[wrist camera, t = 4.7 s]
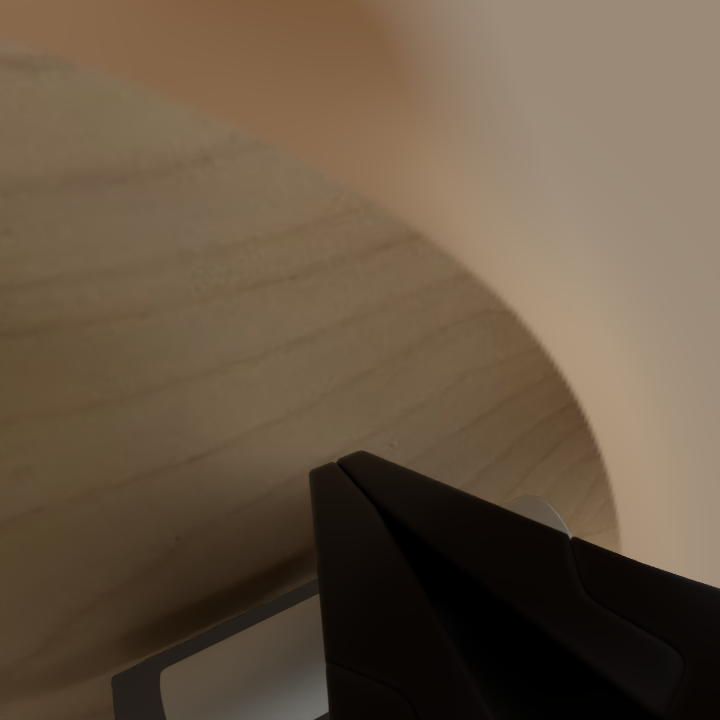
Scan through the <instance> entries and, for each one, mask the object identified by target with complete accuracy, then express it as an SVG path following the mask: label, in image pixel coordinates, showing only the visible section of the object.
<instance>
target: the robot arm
mask: <svg viewBox="0 0 720 720" xmlns="http://www.w3.org/2000/svg"><path fill="white" fill-rule="evenodd" d="M309 483H310V494H311V506H312V517H313V529H314V540H315V552H316V563H317V575H318V586H319V598H320V610H321V621H322V633H323V644H324V656H325V664H326V668H325V672H326V683H327V694H328V711H329V720H720V589H719V588H716V587H713V586H709V585H707V584H704V583H700V582H697V581H694V580H691V579H688V578H685V577H682V576H679V575H676V574H673V573H670V572H667V571H664V570H661V569H658V568H655V567H652V566H649V565H646V564H643V563H641V562H638V561H636V560H633V559H630V558H628V557H625V556H622V555H620V554H617V553H615V552H612V551H609V550H607V549H604V548H602V547H599V546H597V545H594V544H592V543H589V542H587V541H584V540H582V539H579V538H577V537H571V539H570V537H569V535H568V534H567V533H564V532H562V531H559V530H557V529H554V528H552V527H549V526H547V525H545V524H542V523H540V522H537V521H535V520H532V519H530V518H527V517H525V516H523V515H520V514H518V513H515V512H513V511H510V510H508V509H505V508H503V507H500V506H498V505H496V504H493V503H491V502H488V501H486V500H483V499H481V498H478V497H476V496H474V495H471V494H469V493H466V492H464V491H461V490H459V489H456V488H454V487H451V486H449V485H447V484H444V483H442V482H439V481H437V480H434V479H432V478H429V477H427V476H425V475H422V474H420V473H417V472H415V471H412V470H410V469H407V468H405V467H402V466H400V465H398V464H395V463H393V462H390V461H388V460H385V459H383V458H380V457H378V456H376V455H373V454H371V453H368V452H366V451H361V450H360V451H356V452H354V453H351V454H349V455H347V456H344V457H342V458H339V459H338V461H337V462H336V463H335V462H329V463H327V464H324V465H322V466H319V467H317V468H315V469H312V470H311V471H310V472H309Z"/></svg>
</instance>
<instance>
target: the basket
mask: <svg viewBox="0 0 720 720" xmlns="http://www.w3.org/2000/svg"><path fill="white" fill-rule="evenodd" d="M500 507H503V508H505V509H508V510H510V511H513V512H515V513H518V514H520V515H523V516H525V517H527V518H530V519H532V520H535V521H537V522H540V523H542V524H545V525H547V526H549V527H552V528H554V529H557V530H559V531H562V532H564V533H567V534H568V535H569V537H570V539H571V537H572V536H571V533H570V531H569V530H568V528H567V526H566V524H565V523H564V521H563V520H562V518H561V517H560V515H559V514H558V513H557V512H556V510H555V509H554V508H553V507H552V506H551V505H550V504H549V503H548V502H546V501H545V500H544V499H542V498H541V497H539V496H537V495H534V494H524V495H521V496H519V497H517V498H515V499H513V500H511V501H509V502H507V503H505V504H503V505H501V506H500ZM325 668H326V664H325V656H324V644H323V633H322V621H321V610H320V598H319V586H318V579H316V580H314V581H312V582H310V583H308V584H306V585H304V586H302V587H300V588H298V589H295V590H293V591H291V592H289V593H287V594H285V595H283V596H281V597H279V598H277V599H274V600H272V601H270V602H268V603H266V604H264V605H262V606H260V607H258V608H256V609H253V610H251V611H249V612H247V613H245V614H243V615H241V616H239V617H237V618H235V619H233V620H230V621H228V622H226V623H224V624H222V625H220V626H218V627H216V628H214V629H212V630H209V631H207V632H205V633H203V634H201V635H199V636H197V637H195V638H193V639H191V640H188V641H186V642H184V643H182V644H180V645H178V646H176V647H174V648H172V649H170V650H167V651H165V652H163V653H161V654H159V655H157V656H155V657H153V658H151V659H149V660H146V661H144V662H142V663H140V664H138V665H136V666H134V667H132V668H130V669H128V670H125V671H123V672H121V673H119V674H117V675H115V676H114V677H113V678H112V681H111V685H112V695H113V705H114V715H115V720H329V711H328V694H327V683H326V672H325Z"/></svg>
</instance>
